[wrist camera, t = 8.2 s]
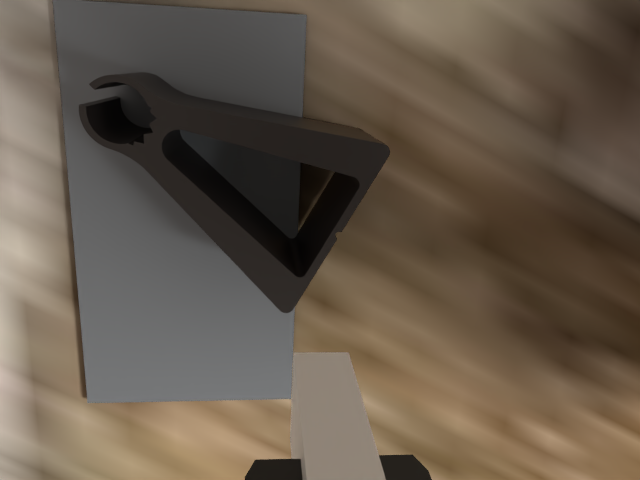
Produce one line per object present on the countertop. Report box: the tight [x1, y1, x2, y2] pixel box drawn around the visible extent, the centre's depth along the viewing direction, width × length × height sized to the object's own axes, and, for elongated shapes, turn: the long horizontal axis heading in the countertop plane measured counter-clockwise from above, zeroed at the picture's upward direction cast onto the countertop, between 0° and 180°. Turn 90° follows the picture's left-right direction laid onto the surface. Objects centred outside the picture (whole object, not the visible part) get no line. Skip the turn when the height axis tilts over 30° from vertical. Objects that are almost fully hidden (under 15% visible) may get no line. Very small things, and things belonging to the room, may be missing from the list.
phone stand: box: [79, 72, 390, 313], centre depth 26 cm, size 9×6×12 cm
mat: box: [53, 0, 307, 403], centre depth 30 cm, size 12×22×1 cm, turn 177°
